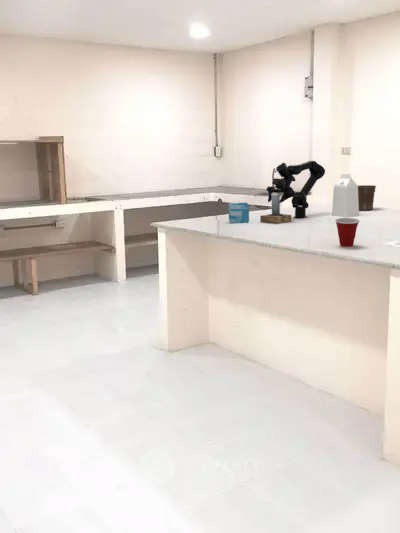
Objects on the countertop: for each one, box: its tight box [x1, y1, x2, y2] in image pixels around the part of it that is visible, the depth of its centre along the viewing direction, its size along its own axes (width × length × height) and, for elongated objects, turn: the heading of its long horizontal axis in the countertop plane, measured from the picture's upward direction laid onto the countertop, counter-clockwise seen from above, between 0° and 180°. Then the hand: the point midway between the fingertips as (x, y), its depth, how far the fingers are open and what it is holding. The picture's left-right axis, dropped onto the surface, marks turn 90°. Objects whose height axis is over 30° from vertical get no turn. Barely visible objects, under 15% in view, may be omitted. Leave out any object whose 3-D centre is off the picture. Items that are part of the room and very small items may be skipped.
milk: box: [331, 173, 360, 218], centre depth 357 cm, size 12×12×26 cm
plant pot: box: [357, 184, 377, 212], centre depth 382 cm, size 16×16×16 cm
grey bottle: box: [271, 192, 281, 215], centre depth 341 cm, size 5×5×13 cm
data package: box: [228, 201, 250, 224], centre depth 346 cm, size 12×4×12 cm, turn 92°
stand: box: [259, 213, 292, 225], centre depth 343 cm, size 13×13×4 cm
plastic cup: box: [334, 217, 360, 247], centre depth 258 cm, size 11×11×12 cm
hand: (274, 202), depth 340 cm, fingers open, 9 cm apart
